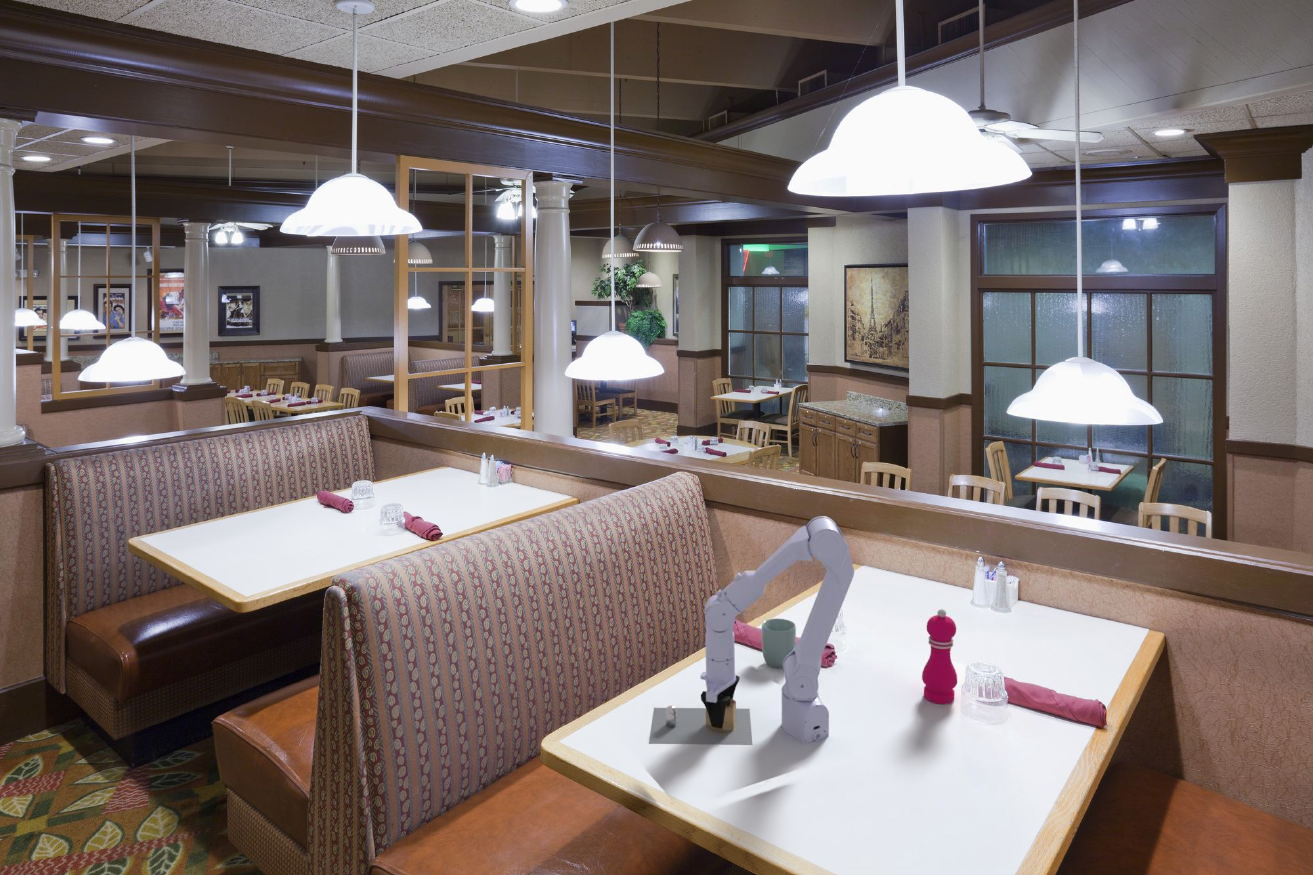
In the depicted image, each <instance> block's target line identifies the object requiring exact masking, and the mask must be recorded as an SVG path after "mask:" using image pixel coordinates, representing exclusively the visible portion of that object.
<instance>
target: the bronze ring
mask: <svg viewBox="0 0 1313 875" xmlns="http://www.w3.org/2000/svg"><path fill="white" fill-rule="evenodd" d="M736 709H737V701H736V700H735V699H734V698H733V699H732V698H731V697H730V699H729V701H728V703H727V706H726V710H725V716H724V723H723V726H722V728H716V727H712V726H711V722H710V719H709V715H708V712H707V709H706V727H707V728H709V729H710V730H711V731H712V732H718V733H726V732H729V731H733V730H734V728H735V726H736Z"/></svg>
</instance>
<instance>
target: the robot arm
mask: <svg viewBox="0 0 1313 875" xmlns="http://www.w3.org/2000/svg"><path fill="white" fill-rule="evenodd" d="M849 548H850V547H849V544H848V542H846V539H845V537H844V535H843V532H842V531H841V529H840V527H839V526H838V525H837V524H836V522H835V521H834V520H833V519H832V518H830V517H828V516H825V515H823V516H821V515H820V516H816V517H813V518H812V519H810V520H809V522H807V524H806V525H803V526H801V527H799V529H797V531H796V532H795V533H793V534H792V535H791V537H789V538H788V539H787V540H786V541H785V542H784V543H783V544H782V545H781V546H780V547H778V549H776V550H775V552H773V553H772V554H771V555H770V556H769V557H768V558H767V559H766V560H765V561H764V562H763V563H762V564H761V565H760V566H758V568H756V569H755V570H745V571H743V572H742V573H740V572H737V573H736V574H735V575H734V580H733V581H732V582H730V583H729V584H728V585H727V586H726V587H724V588H723V589H719V590H717V591H716V594H713V595H712V596H710V597H709V598H708V599H707V600H706V602H705V605H704V619H705V636H704V637H705V671H703V672H701V673H700V675H699V677H700V680H704V681H705V686H706V690H704V691H702V692H701V694H700V700H701V702H702V703H703V705H704V708H706V709H707V712H708V715H709V719H710V722H711V726H712V727H716V728H722V726H723V723H724V716H725V710H726V706H727V703H728V701H729V699H730V697H731V698H732V699H733V700H734V696H735V691H736V688H737V686H738V683H739V681H740V680H741V678H740V676H739V675H736V673H735V672H736V667H735V666H736V664H735V663H736V659H735V656H736V655H735V652H736V651H735V632H734V628H733V627H734V625H735V622H736V617H737V616H739V615H741V614H743V612H745V611H746V610H747V609H748V608H749V607H751V606H752V605H753V604H755V602H757V601H758V600H759V599H760V598H762V596H763V595H765V593H766V585H767V584H768V583H770V582H771V581H772V580H774V579H775V578H776V577H777V576H779V575H780V574H782V572H784V571H785V570H786V569H788V568H789V567H790V566H792V565H793V564H795V563H796V562H797V561H801V562H813V561H814V560H813V556H814V557H815V558H816V559H817V560H818V561H819V562H821V563H822V565H823V567H824V569H825V571H826V572H825V575H824V576H823V580H822V582H821V585H820V587H819V590H818V592H817V595H816V597H815V600H814V601H813V602H814V603H813V605H812V608H811V610H810V613H809V615H808V618H807V620H806V622H805V626H804V627H803V630H802V633H801V636H800V638H799V640H798V641H796V644H795V646H794V648H793V650H792V651H791V652H790V653H789V654H788V655H787V656H786V657H785V659H784V661H783V668H782V671H783V674H784V680H785V683H784V684H783V685H782V687H781V729H782V731H784V732H785V733H786V734H788V735H791V736H793V737H794V738H795V739H797V740H798V741H800V742H801V743H803V744H804V745H805V744H809V743H810V742H814V741H815V742H817V741H820V740H821V739H823V738H828V737H829V735H830V729H829V728H830V727H829V726H830V725H829V724H830V722H829V721H830V720H829V719H830V713H829V710H828V708H827V706H826V705H825V704H824V703H823V702H822V700H821V698H820V695H819V675H820V672H821V669H822V668H821V666H822V658H823V654H824V651H825V648H826V647H827V646H826V645H827V644H828V640H829V639H830V636H831V633H832V631H833V629H834V627H835V623H836V621H837V619H838V617H839V613H840V611H841V609H842V606H843V603H844V601H845V599H846V596H847V594H848V590H849V589H850V586H851V583H852V581H853V578H854V576H855V568H854V565H853V562H852V557H851V553H850V549H849Z"/></svg>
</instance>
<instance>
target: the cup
mask: <svg viewBox="0 0 1313 875" xmlns="http://www.w3.org/2000/svg"><path fill="white" fill-rule="evenodd" d="M796 630H797V626H796V624H795V623H794V621H791V620H790V619H785V618H770V619H767V620H765V621H763V623H762V624H761V649H762V650H761V651H762V656H763V659H764V662H765V663H766V664H767V665H768V666H769V667H771V668H774V669H783V661H784V659H785V657H786V656H787V655H788V654H789V653H790V652H791V651H792V650H793V648H794V646H795V644H796V643H797V641H796V640H797V637H796V636H797V632H796Z"/></svg>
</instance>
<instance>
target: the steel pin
mask: <svg viewBox="0 0 1313 875" xmlns="http://www.w3.org/2000/svg"><path fill="white" fill-rule="evenodd" d="M665 708H666V726H667V727H669V728H674V727H676V726H677V711H676V708H677V707H675V706H674V705H668V706H667V707H665Z"/></svg>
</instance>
